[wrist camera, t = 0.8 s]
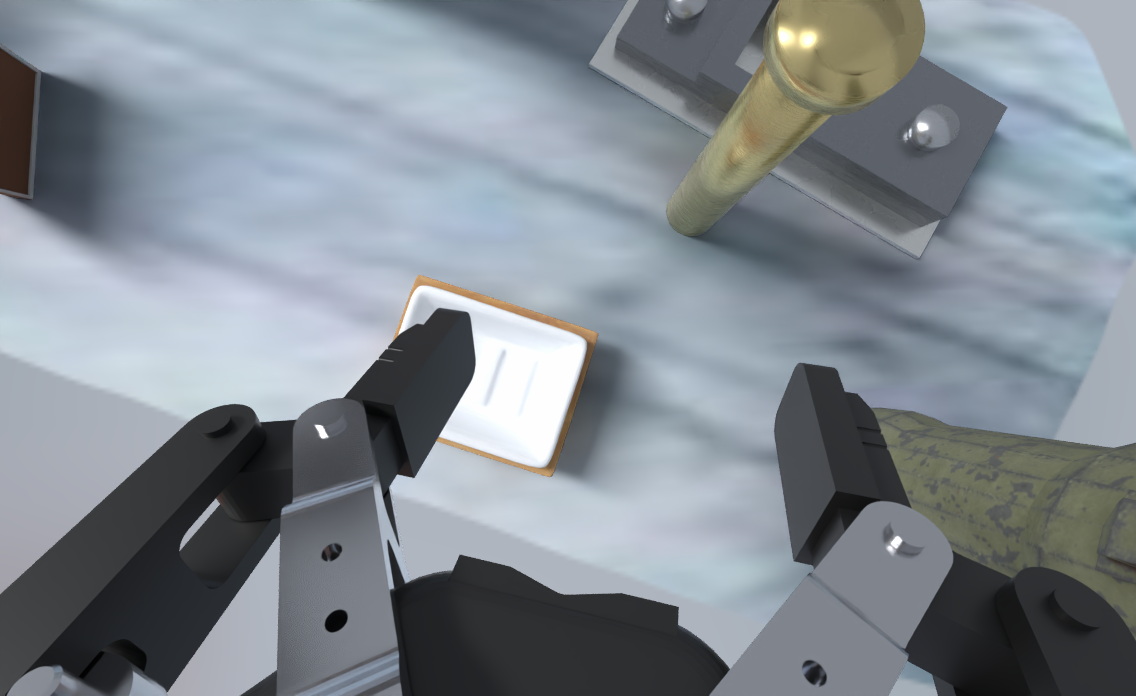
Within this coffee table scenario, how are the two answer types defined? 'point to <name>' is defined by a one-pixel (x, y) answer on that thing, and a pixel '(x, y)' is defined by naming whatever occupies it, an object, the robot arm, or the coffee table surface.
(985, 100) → the bolted mounting plate
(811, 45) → the brass pin
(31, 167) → the food container
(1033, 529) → the thermos
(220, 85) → the coffee table surface
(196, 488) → the robot arm
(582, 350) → the soap dish
